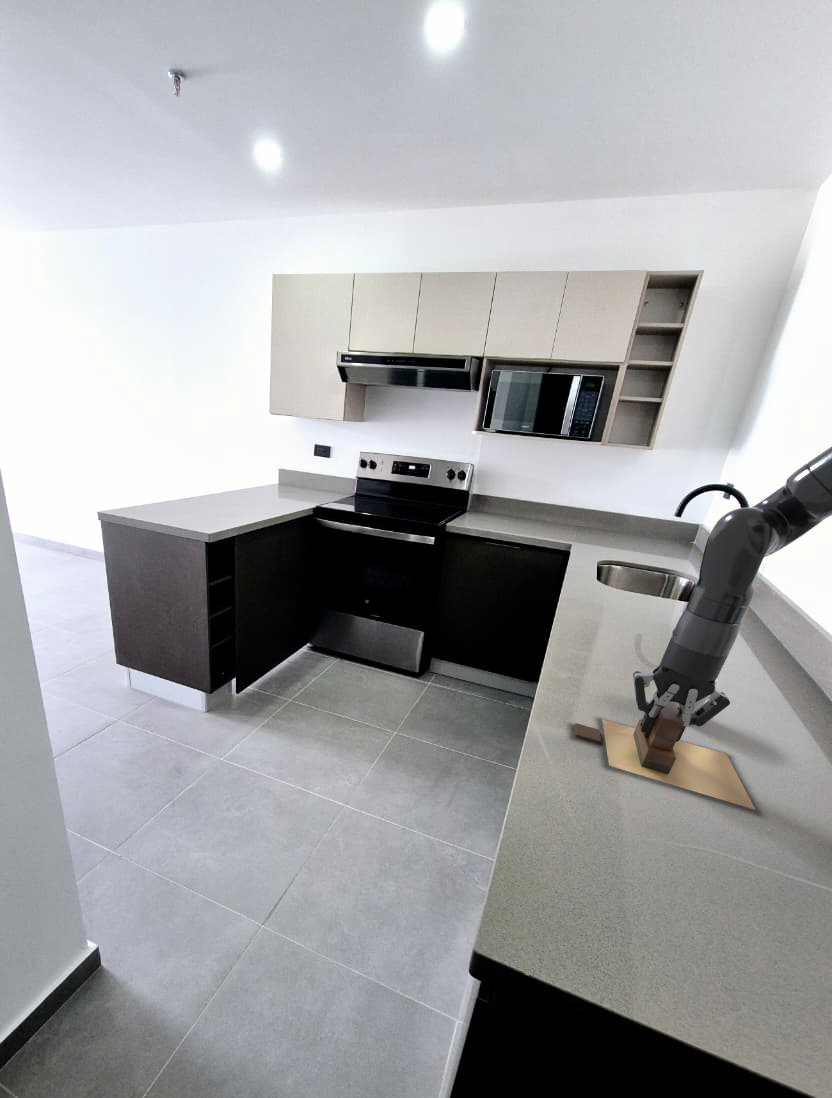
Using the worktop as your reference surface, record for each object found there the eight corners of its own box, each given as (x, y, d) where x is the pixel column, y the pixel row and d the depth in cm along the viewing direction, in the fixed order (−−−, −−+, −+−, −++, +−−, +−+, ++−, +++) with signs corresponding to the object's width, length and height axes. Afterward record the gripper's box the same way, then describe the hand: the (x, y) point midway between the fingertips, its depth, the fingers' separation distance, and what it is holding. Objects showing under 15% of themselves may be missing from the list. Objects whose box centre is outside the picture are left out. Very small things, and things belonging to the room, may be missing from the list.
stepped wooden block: (657, 741, 87) (676, 699, 84) (668, 774, 78) (690, 729, 75) (632, 734, 88) (650, 692, 85) (640, 766, 80) (661, 721, 76)
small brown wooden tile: (596, 736, 88) (599, 729, 87) (598, 748, 84) (601, 741, 84) (572, 729, 89) (575, 722, 88) (573, 741, 86) (576, 734, 85)
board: (723, 758, 86) (726, 753, 86) (752, 814, 74) (755, 809, 73) (600, 723, 92) (602, 719, 92) (607, 770, 79) (609, 765, 79)
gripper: (652, 639, 74) (613, 736, 81) (763, 665, 70) (711, 764, 77) (645, 623, 80) (609, 714, 87) (746, 645, 76) (699, 738, 83)
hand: (657, 737), depth 82 cm, fingers closed on stepped wooden block, 3 cm apart
